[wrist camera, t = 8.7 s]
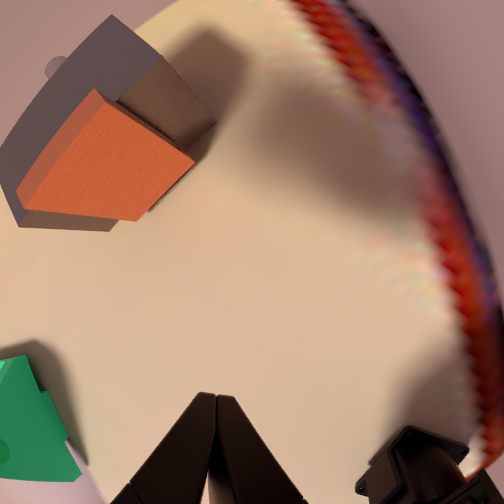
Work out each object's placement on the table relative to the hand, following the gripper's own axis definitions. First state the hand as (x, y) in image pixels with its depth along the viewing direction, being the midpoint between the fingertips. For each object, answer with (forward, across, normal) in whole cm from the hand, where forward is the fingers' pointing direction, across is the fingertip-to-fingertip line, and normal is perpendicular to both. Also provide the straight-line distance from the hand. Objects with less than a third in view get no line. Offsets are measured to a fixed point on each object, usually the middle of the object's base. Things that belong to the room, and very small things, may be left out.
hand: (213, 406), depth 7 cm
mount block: (+15, +7, -5) cm, 17 cm away
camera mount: (+13, +15, +19) cm, 28 cm away
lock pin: (+15, +9, -7) cm, 19 cm away
